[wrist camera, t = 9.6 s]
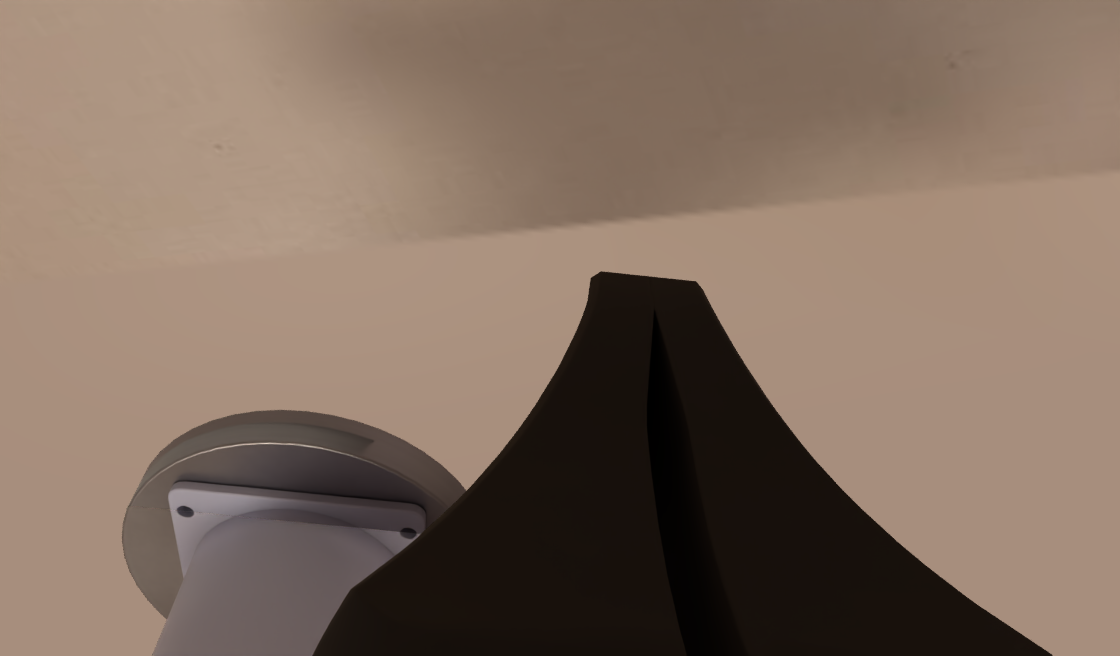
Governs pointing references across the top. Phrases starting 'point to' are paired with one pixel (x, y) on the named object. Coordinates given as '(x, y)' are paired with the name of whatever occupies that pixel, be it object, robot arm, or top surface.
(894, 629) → the robot arm
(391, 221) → the top surface
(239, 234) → the top surface
